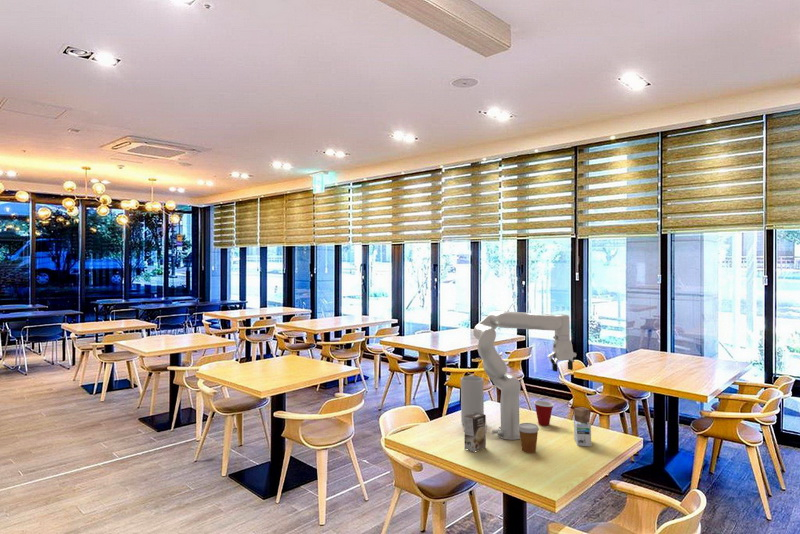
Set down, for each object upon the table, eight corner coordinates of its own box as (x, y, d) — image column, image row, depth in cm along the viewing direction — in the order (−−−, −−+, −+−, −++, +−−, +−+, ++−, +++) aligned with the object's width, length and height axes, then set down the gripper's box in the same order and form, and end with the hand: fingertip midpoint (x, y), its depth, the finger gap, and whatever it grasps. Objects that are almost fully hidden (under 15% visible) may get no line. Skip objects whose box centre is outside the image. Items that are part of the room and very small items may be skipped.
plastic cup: (557, 427, 268) (556, 405, 268) (537, 427, 268) (536, 405, 268) (551, 421, 279) (550, 399, 279) (531, 421, 279) (531, 400, 279)
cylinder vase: (459, 420, 282) (458, 376, 282) (480, 419, 283) (479, 375, 284) (464, 427, 270) (463, 381, 270) (486, 426, 271) (486, 380, 271)
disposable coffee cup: (528, 456, 227) (527, 430, 228) (514, 449, 236) (513, 424, 236) (543, 452, 232) (543, 426, 232) (529, 446, 240) (529, 421, 240)
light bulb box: (591, 446, 238) (591, 424, 238) (577, 446, 240) (576, 423, 240) (587, 439, 249) (587, 417, 249) (573, 438, 250) (573, 417, 250)
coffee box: (474, 452, 232) (474, 418, 232) (464, 449, 237) (463, 416, 237) (486, 447, 239) (486, 414, 239) (475, 444, 243) (475, 411, 243)
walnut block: (581, 422, 241) (581, 410, 241) (574, 420, 246) (574, 408, 246) (589, 421, 243) (589, 409, 243) (582, 418, 248) (582, 406, 248)
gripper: (552, 339, 255) (553, 373, 255) (580, 337, 260) (580, 370, 260) (544, 338, 262) (544, 370, 262) (571, 336, 268) (571, 367, 267)
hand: (562, 370), depth 261 cm, fingers open, 9 cm apart
